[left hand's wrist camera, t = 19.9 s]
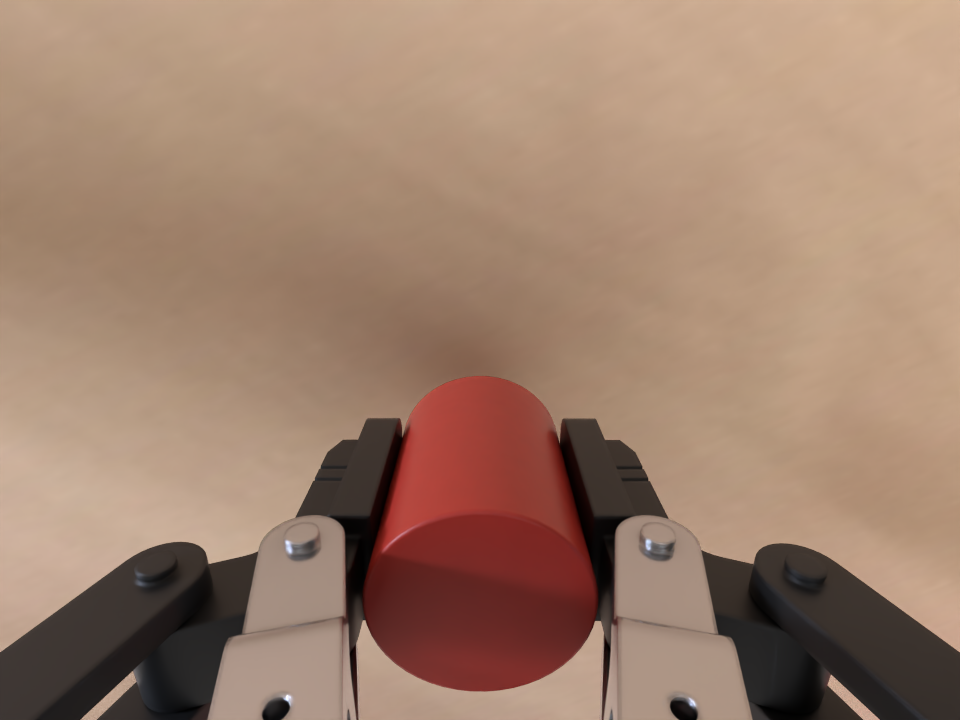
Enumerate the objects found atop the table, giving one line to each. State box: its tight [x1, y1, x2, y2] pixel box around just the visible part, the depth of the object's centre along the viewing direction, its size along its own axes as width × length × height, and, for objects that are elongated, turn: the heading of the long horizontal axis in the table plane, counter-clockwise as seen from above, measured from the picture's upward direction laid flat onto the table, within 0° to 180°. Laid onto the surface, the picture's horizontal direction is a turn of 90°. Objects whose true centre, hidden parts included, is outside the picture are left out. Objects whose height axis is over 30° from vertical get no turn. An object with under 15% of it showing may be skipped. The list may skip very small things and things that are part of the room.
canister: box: [362, 376, 599, 691], centre depth 11 cm, size 4×4×5 cm
